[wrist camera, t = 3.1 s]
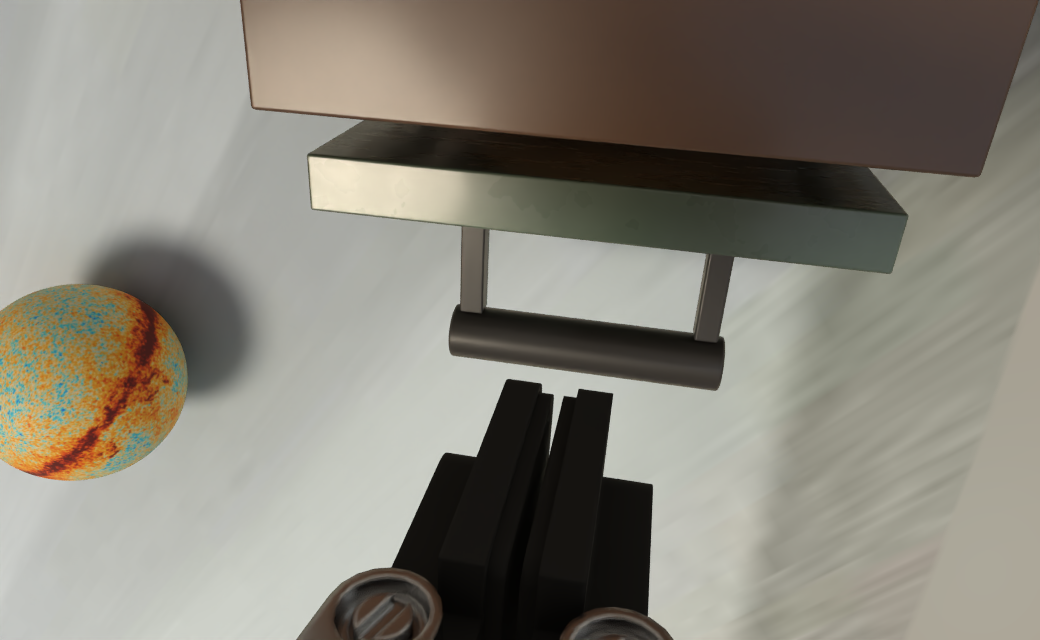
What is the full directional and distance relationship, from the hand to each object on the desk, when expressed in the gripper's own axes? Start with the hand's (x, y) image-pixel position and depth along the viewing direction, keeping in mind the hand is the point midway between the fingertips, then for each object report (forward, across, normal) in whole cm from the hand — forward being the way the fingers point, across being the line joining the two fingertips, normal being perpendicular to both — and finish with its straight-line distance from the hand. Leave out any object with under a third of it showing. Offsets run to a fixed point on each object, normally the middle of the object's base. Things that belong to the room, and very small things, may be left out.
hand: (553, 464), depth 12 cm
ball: (+15, +18, +8) cm, 25 cm away
